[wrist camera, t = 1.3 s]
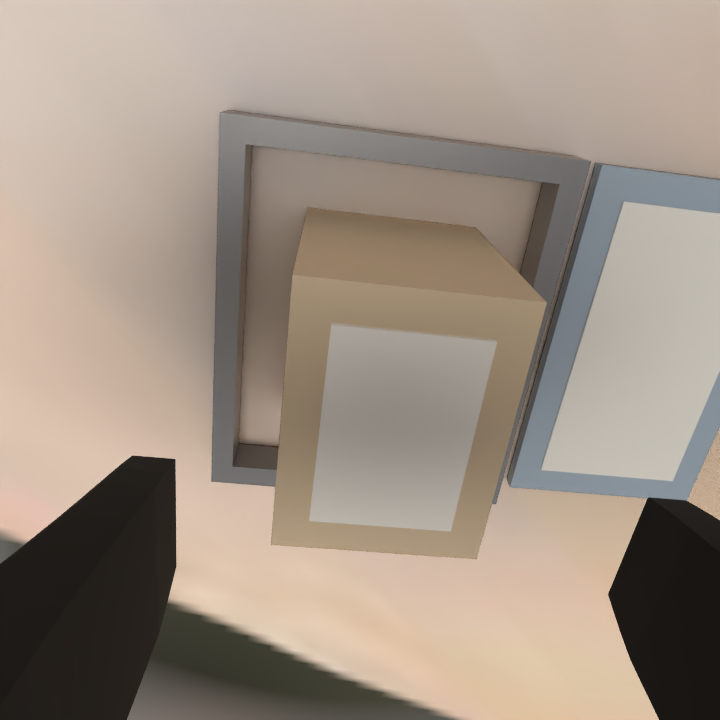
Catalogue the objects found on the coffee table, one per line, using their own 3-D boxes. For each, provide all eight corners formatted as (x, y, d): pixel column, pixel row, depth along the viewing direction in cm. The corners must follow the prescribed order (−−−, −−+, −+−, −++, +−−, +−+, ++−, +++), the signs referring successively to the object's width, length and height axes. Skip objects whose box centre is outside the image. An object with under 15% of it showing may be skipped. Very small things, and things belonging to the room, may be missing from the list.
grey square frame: (572, 155, 15) (591, 161, 14) (487, 480, 19) (495, 503, 18) (228, 110, 14) (219, 112, 13) (218, 458, 19) (211, 481, 18)
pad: (812, 191, 16) (825, 194, 15) (679, 493, 20) (687, 502, 19) (596, 162, 15) (603, 165, 15) (506, 479, 19) (510, 488, 19)
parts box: (474, 226, 16) (548, 304, 10) (435, 418, 18) (477, 562, 13) (307, 206, 15) (292, 276, 10) (290, 405, 18) (270, 548, 12)
